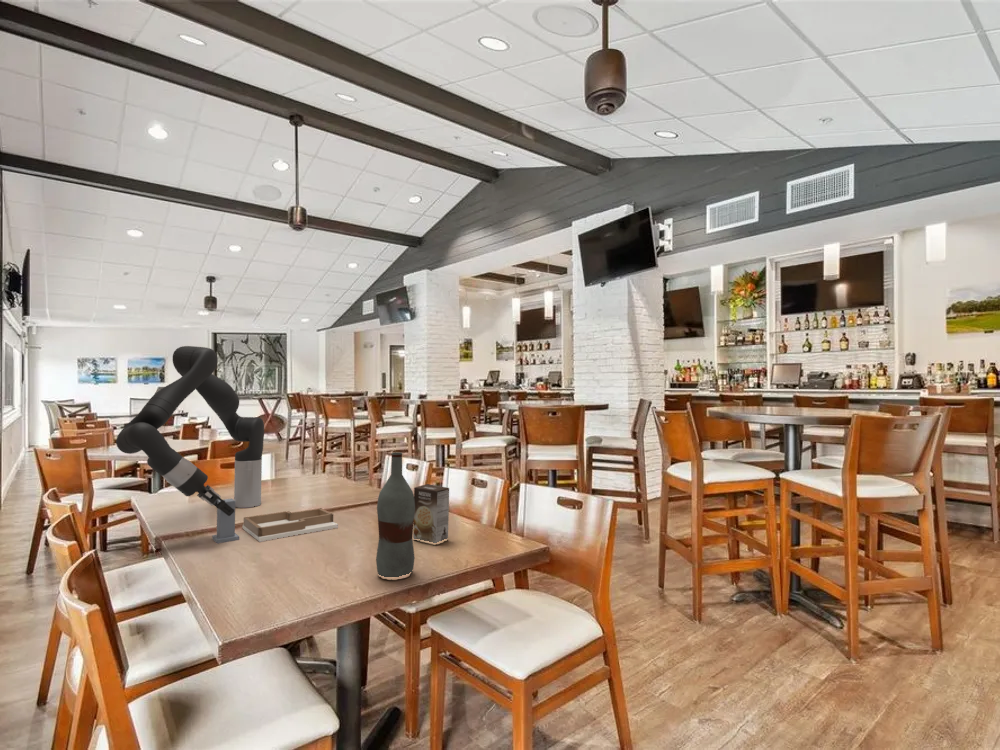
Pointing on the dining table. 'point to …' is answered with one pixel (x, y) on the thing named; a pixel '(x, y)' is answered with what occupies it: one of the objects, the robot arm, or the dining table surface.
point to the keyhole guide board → (288, 523)
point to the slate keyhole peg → (225, 524)
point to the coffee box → (431, 513)
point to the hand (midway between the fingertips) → (228, 510)
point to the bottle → (395, 524)
